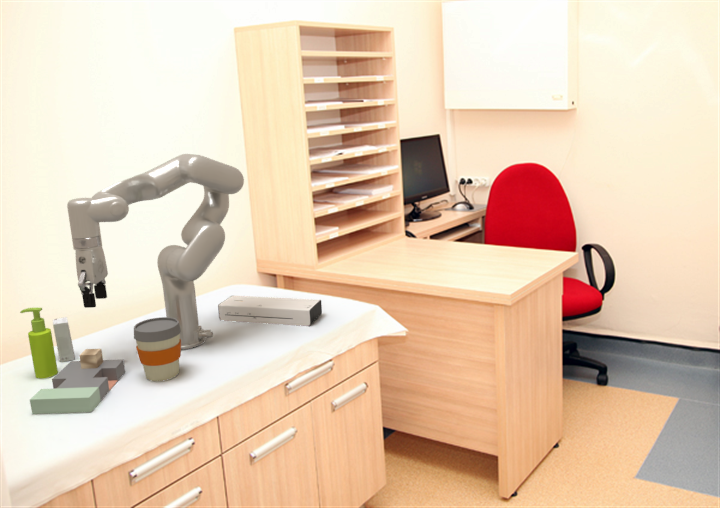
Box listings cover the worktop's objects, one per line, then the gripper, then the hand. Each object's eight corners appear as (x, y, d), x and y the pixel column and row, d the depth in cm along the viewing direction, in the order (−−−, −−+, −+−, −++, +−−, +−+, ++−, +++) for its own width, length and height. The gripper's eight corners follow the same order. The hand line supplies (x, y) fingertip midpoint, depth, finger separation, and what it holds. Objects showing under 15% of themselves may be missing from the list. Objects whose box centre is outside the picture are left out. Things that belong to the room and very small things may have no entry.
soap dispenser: (36, 371, 191) (25, 306, 186) (60, 369, 192) (50, 304, 187) (28, 379, 186) (16, 312, 181) (53, 377, 186) (42, 311, 181)
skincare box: (75, 359, 198) (69, 322, 196) (59, 362, 197) (52, 324, 194) (74, 353, 204) (68, 316, 201) (58, 356, 202) (52, 318, 199)
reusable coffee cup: (194, 368, 188) (189, 319, 185) (165, 387, 177) (159, 334, 173) (160, 363, 193) (154, 315, 190) (129, 380, 182) (122, 329, 179)
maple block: (103, 361, 186) (101, 348, 185) (97, 368, 181) (95, 354, 180) (87, 362, 186) (85, 349, 185) (81, 368, 181) (79, 355, 180)
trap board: (125, 372, 188) (123, 359, 187) (91, 412, 164) (89, 397, 163) (73, 374, 188) (71, 361, 187) (32, 414, 165) (29, 399, 164)
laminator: (219, 321, 228) (217, 304, 226) (235, 310, 239) (233, 294, 238) (311, 327, 218) (310, 309, 217) (323, 315, 230) (322, 298, 228)
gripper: (87, 249, 175) (96, 312, 179) (112, 235, 192) (120, 293, 196) (59, 250, 175) (69, 313, 179) (86, 236, 192) (95, 294, 196)
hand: (95, 302), depth 187 cm, fingers open, 7 cm apart
